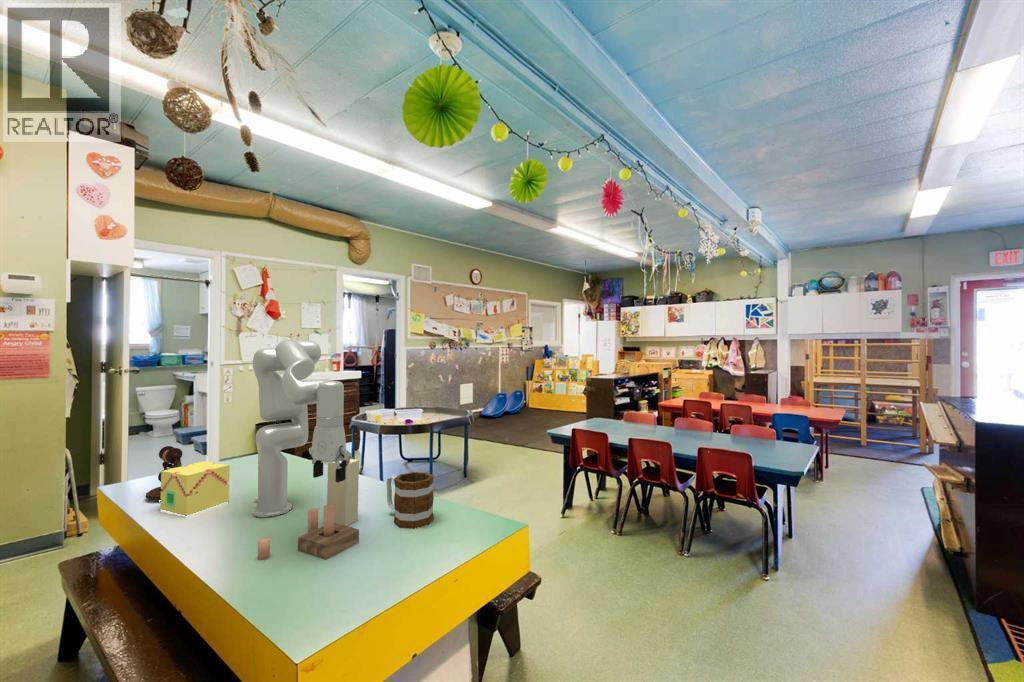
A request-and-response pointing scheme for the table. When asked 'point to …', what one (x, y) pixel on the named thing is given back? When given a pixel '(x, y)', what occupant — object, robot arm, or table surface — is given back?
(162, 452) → the brown rounded figure
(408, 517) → the mug
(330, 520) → the pin long
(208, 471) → the toy block
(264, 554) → the pin short
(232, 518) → the table surface
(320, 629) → the table surface
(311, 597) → the table surface
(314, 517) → the pin medium
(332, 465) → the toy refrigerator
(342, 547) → the hole block
